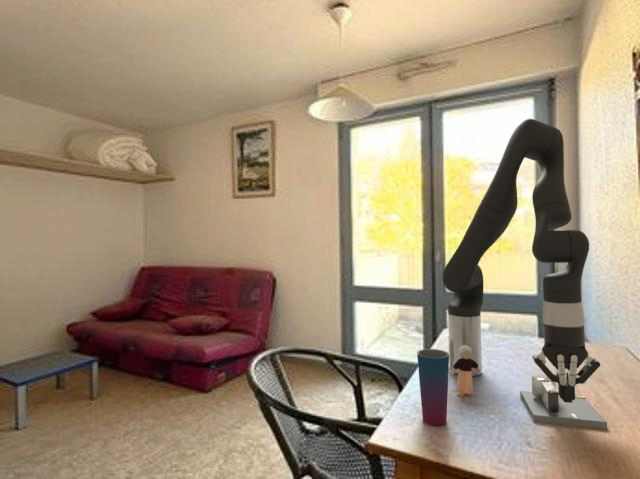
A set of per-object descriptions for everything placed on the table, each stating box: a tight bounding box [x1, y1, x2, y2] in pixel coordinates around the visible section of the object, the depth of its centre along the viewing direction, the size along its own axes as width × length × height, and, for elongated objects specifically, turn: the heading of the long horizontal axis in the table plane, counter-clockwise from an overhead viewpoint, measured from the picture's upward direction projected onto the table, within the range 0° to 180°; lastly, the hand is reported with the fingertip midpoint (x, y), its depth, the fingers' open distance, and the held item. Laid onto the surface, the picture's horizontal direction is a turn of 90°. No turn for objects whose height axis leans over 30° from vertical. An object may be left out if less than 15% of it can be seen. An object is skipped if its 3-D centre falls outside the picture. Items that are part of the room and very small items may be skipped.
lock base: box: [519, 390, 608, 430], centre depth 88 cm, size 14×14×2 cm
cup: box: [416, 348, 450, 427], centre depth 85 cm, size 7×7×15 cm
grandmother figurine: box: [450, 345, 480, 397], centre depth 99 cm, size 8×4×13 cm, turn 105°
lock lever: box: [531, 374, 559, 413], centre depth 88 cm, size 12×5×4 cm, turn 162°
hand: (566, 401), depth 84 cm, fingers closed
